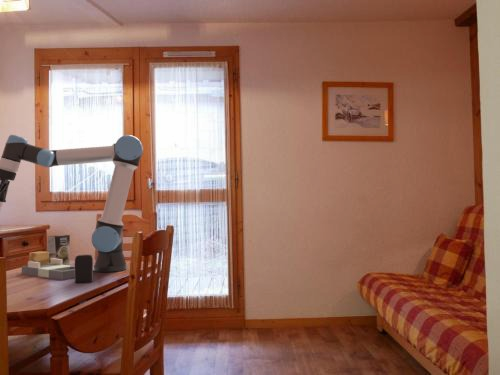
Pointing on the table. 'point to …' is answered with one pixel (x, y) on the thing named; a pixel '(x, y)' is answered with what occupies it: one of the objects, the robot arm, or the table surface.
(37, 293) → the table surface
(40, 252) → the block
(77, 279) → the battery charger
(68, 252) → the coffee box
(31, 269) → the tunnel deck
